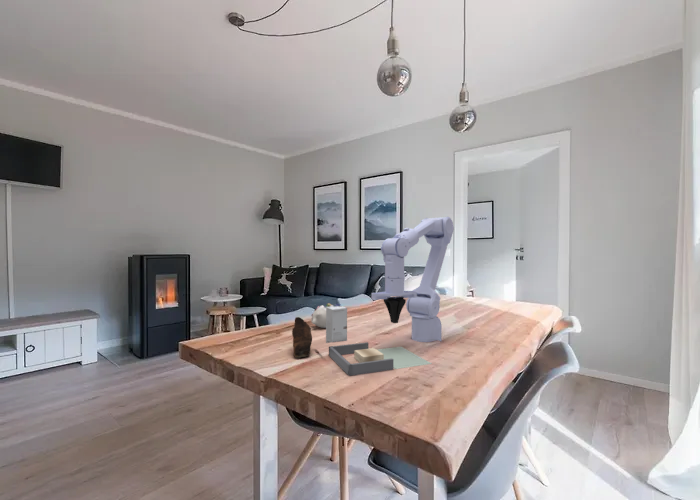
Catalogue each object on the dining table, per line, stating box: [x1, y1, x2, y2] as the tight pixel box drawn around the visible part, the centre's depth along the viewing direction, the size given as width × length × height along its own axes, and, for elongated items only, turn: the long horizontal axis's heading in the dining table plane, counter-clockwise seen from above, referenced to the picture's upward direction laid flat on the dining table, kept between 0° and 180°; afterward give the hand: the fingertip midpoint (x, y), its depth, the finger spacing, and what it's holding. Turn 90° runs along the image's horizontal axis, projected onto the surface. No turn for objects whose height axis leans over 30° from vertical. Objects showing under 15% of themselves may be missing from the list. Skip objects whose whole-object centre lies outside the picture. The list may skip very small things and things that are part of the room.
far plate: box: [376, 346, 432, 370], centre depth 93 cm, size 11×16×2 cm
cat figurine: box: [311, 302, 335, 329], centre depth 134 cm, size 10×8×15 cm
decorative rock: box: [291, 316, 313, 359], centre depth 101 cm, size 12×6×11 cm, turn 6°
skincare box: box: [325, 305, 348, 344], centre depth 110 cm, size 6×4×12 cm
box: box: [328, 341, 394, 377], centre depth 89 cm, size 12×16×4 cm
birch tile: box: [353, 347, 384, 363], centre depth 90 cm, size 6×6×3 cm
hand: (394, 322), depth 100 cm, fingers closed
